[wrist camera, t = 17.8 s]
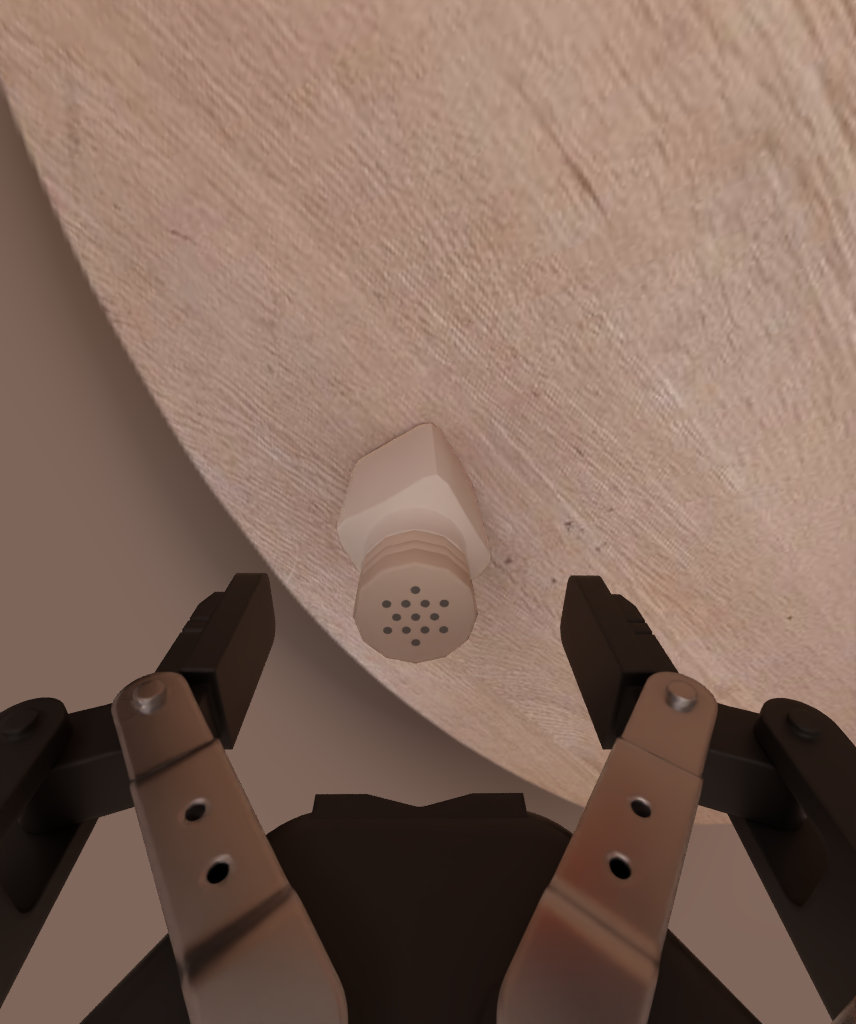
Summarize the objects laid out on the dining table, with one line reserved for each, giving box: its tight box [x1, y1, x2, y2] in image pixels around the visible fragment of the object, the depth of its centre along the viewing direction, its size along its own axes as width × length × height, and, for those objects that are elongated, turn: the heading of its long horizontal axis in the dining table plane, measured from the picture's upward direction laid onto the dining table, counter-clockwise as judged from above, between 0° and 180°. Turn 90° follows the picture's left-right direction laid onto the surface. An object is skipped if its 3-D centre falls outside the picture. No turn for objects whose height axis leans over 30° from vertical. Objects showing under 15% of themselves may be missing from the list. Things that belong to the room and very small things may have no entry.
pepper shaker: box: [337, 423, 491, 663], centre depth 17 cm, size 4×4×10 cm
